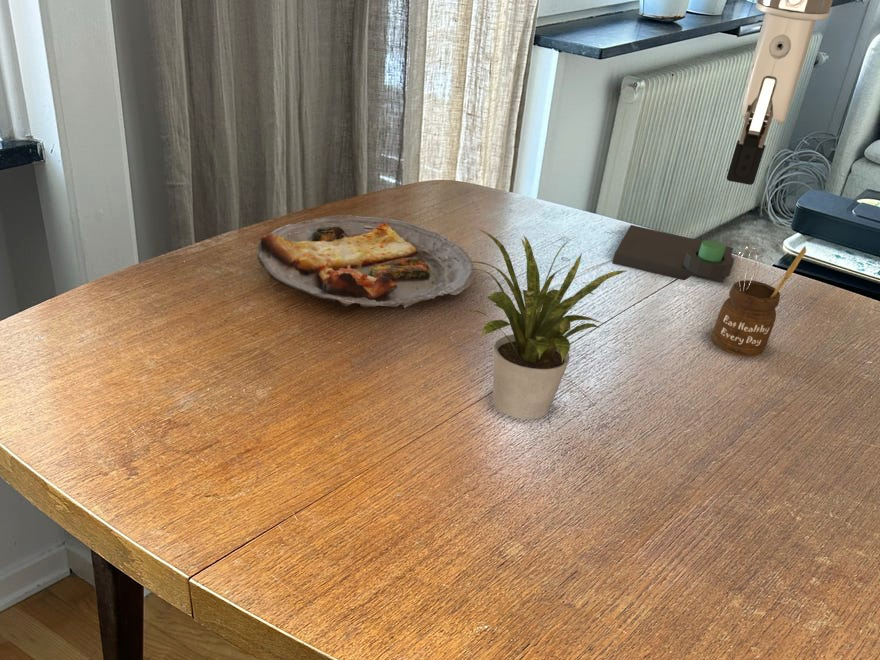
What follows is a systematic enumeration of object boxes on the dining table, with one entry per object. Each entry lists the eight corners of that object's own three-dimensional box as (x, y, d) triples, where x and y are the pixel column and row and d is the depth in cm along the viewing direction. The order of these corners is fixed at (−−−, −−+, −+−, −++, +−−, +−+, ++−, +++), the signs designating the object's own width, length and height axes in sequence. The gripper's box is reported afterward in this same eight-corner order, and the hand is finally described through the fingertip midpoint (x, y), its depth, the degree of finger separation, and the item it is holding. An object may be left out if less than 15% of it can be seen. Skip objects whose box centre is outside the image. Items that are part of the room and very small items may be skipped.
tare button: (722, 257, 120) (727, 243, 119) (719, 265, 118) (724, 251, 117) (698, 252, 121) (703, 238, 119) (696, 260, 118) (700, 245, 117)
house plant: (403, 406, 90) (423, 229, 79) (483, 360, 98) (511, 195, 87) (530, 466, 84) (571, 285, 73) (603, 411, 93) (650, 243, 82)
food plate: (311, 332, 99) (313, 299, 97) (225, 248, 113) (224, 217, 111) (506, 302, 110) (512, 272, 107) (405, 228, 124) (408, 200, 121)
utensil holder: (708, 334, 109) (744, 227, 101) (764, 346, 108) (805, 238, 100) (706, 356, 104) (744, 245, 96) (764, 368, 104) (807, 258, 95)
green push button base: (733, 258, 128) (740, 236, 126) (723, 293, 118) (731, 269, 116) (628, 235, 130) (633, 212, 128) (610, 266, 121) (616, 242, 119)
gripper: (830, 12, 94) (767, 205, 106) (834, -8, 104) (776, 170, 117) (753, 0, 95) (700, 192, 108) (765, -18, 106) (715, 159, 118)
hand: (740, 180), depth 112 cm, fingers closed
